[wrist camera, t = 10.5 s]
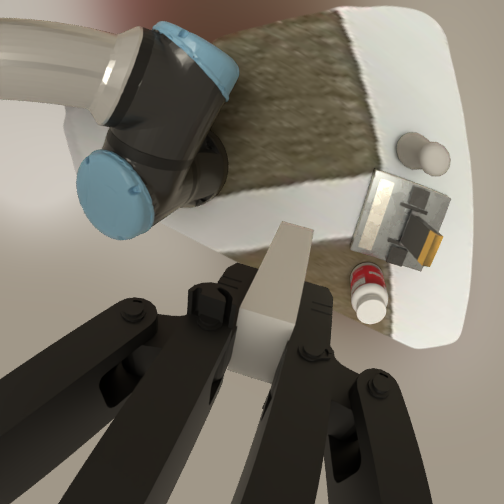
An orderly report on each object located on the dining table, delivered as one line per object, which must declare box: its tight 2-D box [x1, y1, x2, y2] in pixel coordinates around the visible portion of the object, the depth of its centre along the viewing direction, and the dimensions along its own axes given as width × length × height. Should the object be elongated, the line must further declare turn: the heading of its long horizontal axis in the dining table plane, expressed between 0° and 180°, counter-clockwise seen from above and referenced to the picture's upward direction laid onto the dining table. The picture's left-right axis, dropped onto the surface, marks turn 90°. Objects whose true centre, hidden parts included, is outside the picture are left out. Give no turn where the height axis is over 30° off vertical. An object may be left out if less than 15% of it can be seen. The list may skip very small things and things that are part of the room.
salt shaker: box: [397, 133, 451, 176], centre depth 33 cm, size 6×6×13 cm
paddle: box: [399, 210, 443, 267], centre depth 38 cm, size 2×6×8 cm, turn 170°
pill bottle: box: [350, 262, 388, 324], centre depth 45 cm, size 6×6×11 cm
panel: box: [350, 168, 451, 271], centre depth 42 cm, size 14×14×3 cm
